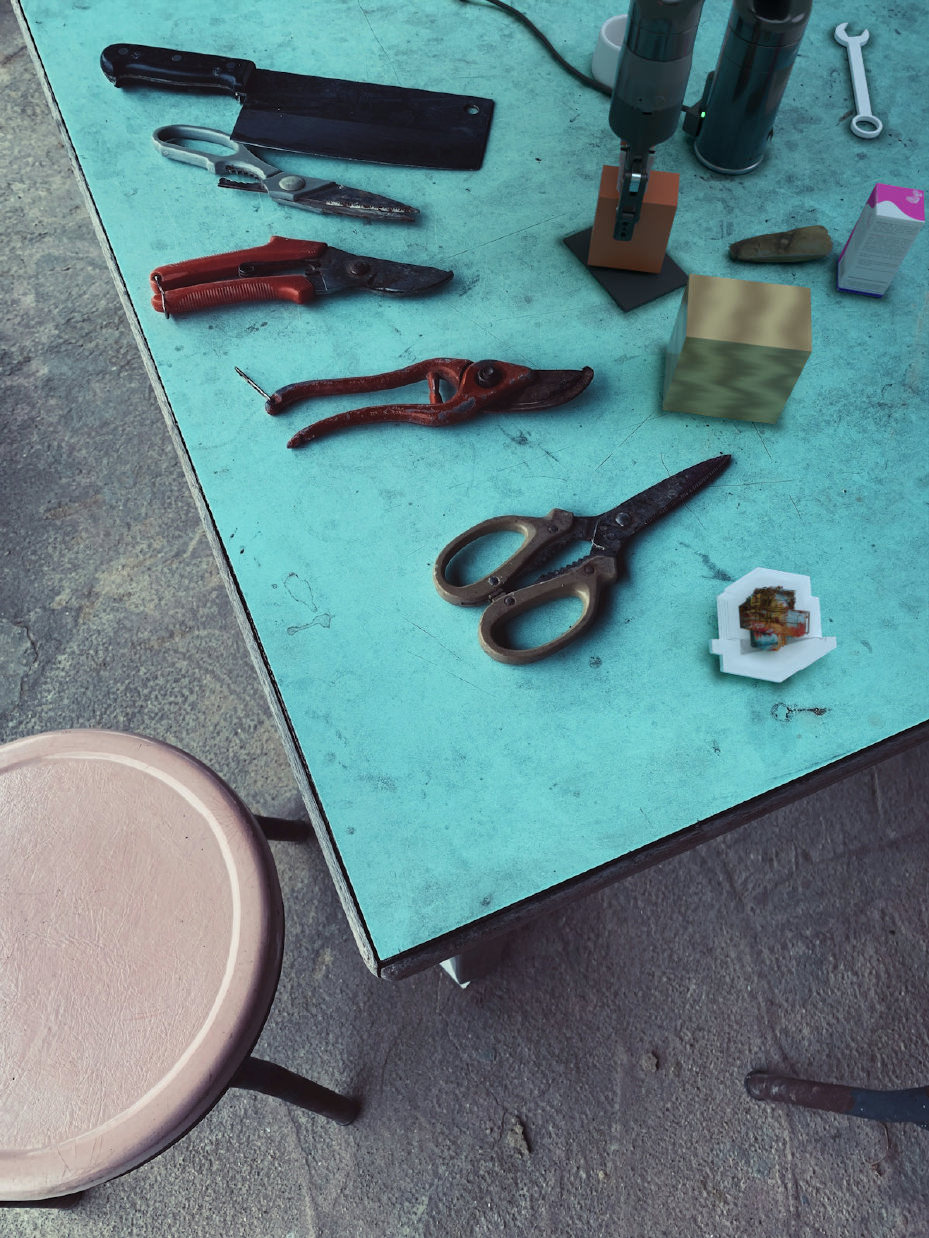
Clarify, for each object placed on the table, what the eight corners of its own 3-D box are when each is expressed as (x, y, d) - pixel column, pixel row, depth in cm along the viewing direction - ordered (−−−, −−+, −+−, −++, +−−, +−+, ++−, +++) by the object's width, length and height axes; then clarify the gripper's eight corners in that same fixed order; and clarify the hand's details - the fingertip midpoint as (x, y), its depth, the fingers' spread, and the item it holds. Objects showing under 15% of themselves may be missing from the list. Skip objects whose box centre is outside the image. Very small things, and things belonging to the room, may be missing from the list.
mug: (586, 91, 132) (592, 49, 126) (594, 49, 136) (600, 7, 130) (670, 102, 131) (679, 60, 125) (676, 60, 135) (685, 18, 130)
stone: (820, 235, 120) (826, 220, 118) (833, 262, 117) (840, 248, 115) (723, 248, 118) (727, 233, 116) (735, 275, 116) (740, 261, 114)
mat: (562, 241, 118) (563, 238, 118) (626, 214, 121) (627, 211, 120) (625, 313, 113) (626, 310, 113) (691, 283, 116) (691, 280, 115)
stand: (775, 364, 110) (810, 287, 99) (775, 424, 106) (812, 351, 95) (666, 351, 111) (689, 273, 100) (662, 410, 107) (685, 336, 96)
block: (680, 172, 108) (603, 163, 108) (677, 206, 105) (598, 196, 106) (661, 246, 118) (590, 237, 118) (658, 278, 115) (586, 270, 116)
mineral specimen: (818, 570, 95) (842, 557, 88) (826, 683, 94) (850, 678, 87) (700, 573, 96) (714, 560, 89) (706, 685, 95) (720, 681, 88)
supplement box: (883, 299, 115) (926, 223, 105) (835, 291, 115) (873, 215, 105) (884, 265, 117) (925, 188, 107) (836, 258, 118) (873, 180, 108)
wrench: (865, 28, 139) (832, 26, 139) (867, 24, 138) (834, 21, 138) (884, 139, 128) (849, 137, 128) (886, 135, 127) (851, 132, 127)
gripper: (619, 38, 99) (597, 170, 114) (609, 124, 93) (587, 252, 108) (689, 45, 99) (658, 176, 114) (683, 132, 93) (652, 260, 107)
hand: (624, 213), depth 111 cm, fingers open, 8 cm apart
